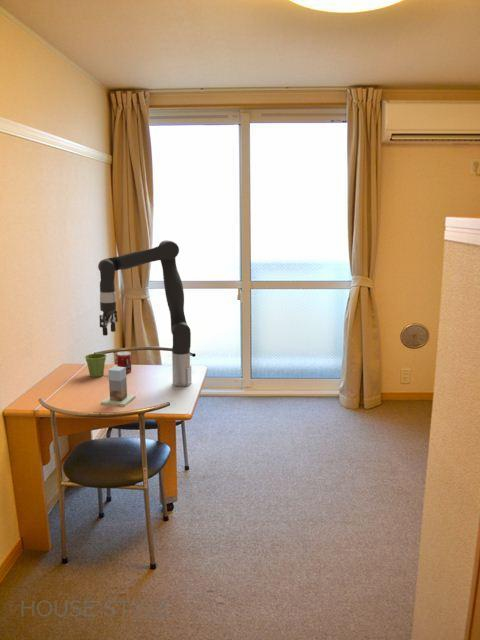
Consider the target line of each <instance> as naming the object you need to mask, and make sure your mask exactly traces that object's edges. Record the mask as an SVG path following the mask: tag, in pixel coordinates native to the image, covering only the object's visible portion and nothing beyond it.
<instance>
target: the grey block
mask: <svg viewBox="0 0 480 640" xmlns="http://www.w3.org/2000/svg"><path fill="white" fill-rule="evenodd" d="M127 380H128V379H127V377H126V378H124V379H123V380H121V381H113V380H109V379H108V384H109V385H108V388H109V390H108V391H110V390H111V391H122V390H124V389H125V388H127V389H128V386H127V385H128V383H127Z"/></svg>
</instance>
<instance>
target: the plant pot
mask: <svg viewBox="0 0 480 640" xmlns="http://www.w3.org/2000/svg"><path fill="white" fill-rule="evenodd" d="M107 356H108V355H107V354H105V353H101V352H100V353H97V352H96V353H89V354H86V355H84V359H85V361H86V364H87V369H88V372H89V373H88V375H89V376H90V377H91V378H97V377H98V378H100V377H102V376H104V373H105V365H106V364H105V363H106V358H107Z"/></svg>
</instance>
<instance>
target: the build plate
mask: <svg viewBox="0 0 480 640" xmlns="http://www.w3.org/2000/svg"><path fill="white" fill-rule="evenodd" d="M135 398H136V395H135V394H134V395H132V394H127V398H125V399H124V400H123V401H111V400H110V395H109V396H107V397H106V398H104V399H103V400H102V401H101V402H100V403H101V405H107V406H116V405H120V406H119V407H126V406H127V405H128V404H129V403H131V402H132V401H133V400H134V399H135Z"/></svg>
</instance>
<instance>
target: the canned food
mask: <svg viewBox="0 0 480 640" xmlns="http://www.w3.org/2000/svg"><path fill="white" fill-rule="evenodd" d="M116 361H117V362H116V364H117V366H116V367H126V375H127V374H130V373H132V354H131V352H130V351H125V350H124V351H118V352H117V353H116Z"/></svg>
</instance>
